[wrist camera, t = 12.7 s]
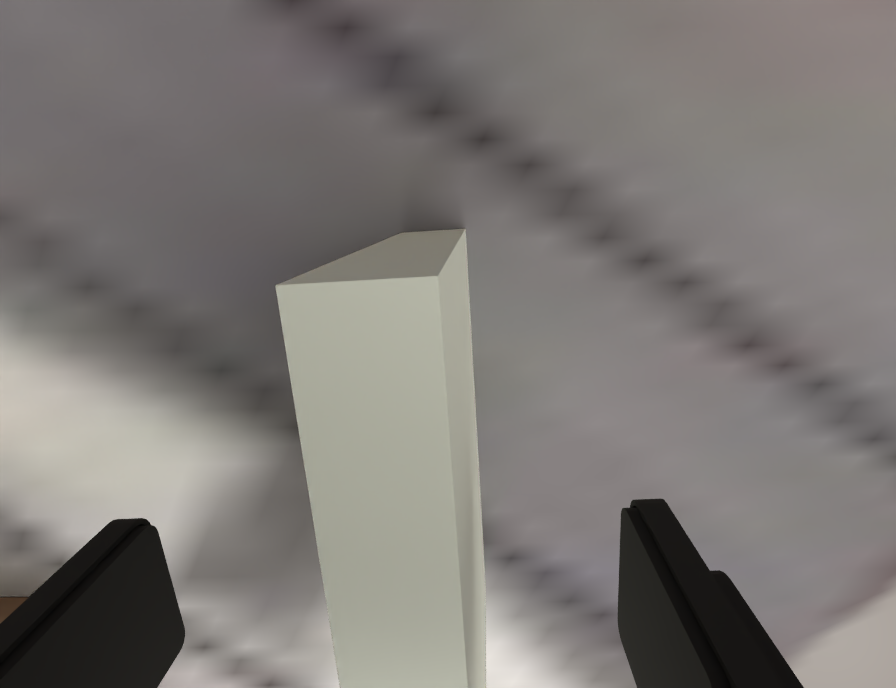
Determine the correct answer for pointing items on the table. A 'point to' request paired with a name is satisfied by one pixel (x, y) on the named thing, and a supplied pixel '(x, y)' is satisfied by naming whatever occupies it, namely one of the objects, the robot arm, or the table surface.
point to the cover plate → (393, 458)
